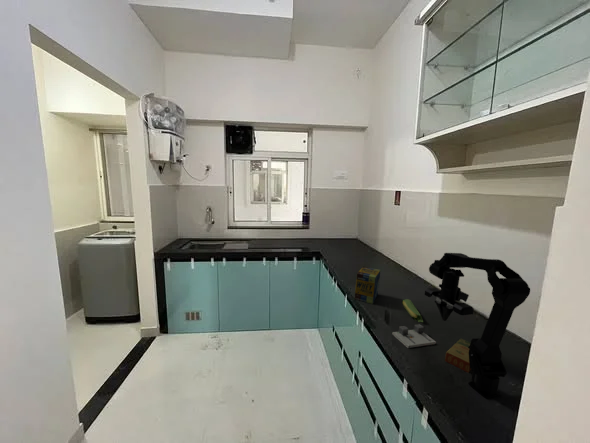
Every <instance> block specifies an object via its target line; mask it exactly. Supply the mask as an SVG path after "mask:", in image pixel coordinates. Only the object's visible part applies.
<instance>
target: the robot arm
mask: <svg viewBox="0 0 590 443" xmlns="http://www.w3.org/2000/svg"><path fill="white" fill-rule="evenodd" d="M464 268H467V269H468V268H469V269H472V270H473V269H475V270H481V271H485V272H486V275H487V276H486V277H487V282H488V283H489V285H490V286H491V288H492V290H491V294H492V298H493V300H494V303H493V305H492V307H491V311H490V313H489V316H488V319H487V322H486V324H485V326H484V329H483V331H482V334H481V337H480V338H472V339H471V340H470V342H471V343H470V346H469V347H468V348H469V352H468V353H469V364H470V368H471V378H470V381H468V382H467V385H469V386H470V387H471V388H472V389H473V390H474V391H476V392H477V393H479V395H481V396H482V397H483V398H485V399H489V398H493V397H497V396H498V397H499V396H501V392H499V390H498V389H499V385H500V380H501V379H500V378H501V377H502V378H505V377H506V375H507V374H508V371H507V369H506V368H505V367H506V366H505V365H504V363H503V360H502V356H503V354H502V353H503V352H502V349H501V347H500V344H501V342H502V340H503V337H504V335H505V333H506V331H507V328H508V325H509V323H510V321H511V318H512V316H513V313H514V311H515V309H517V307H519V306H521V305H522V304H523V303H524V302H525V301H526V300H527V299H528V297H529V296H530V293H531V288H530V286H529V284H528V283H527V281H525V280H524V279H523V277H522V276H521V275H520V274H519V273H518V272H517V271H515V270H513V269H512V268H510V267H509V266H508V265H507V264H506V263H505V262H504V261H503V260H501V259H498V258H497V259H495V258H493V259H491V258H482V257H481V258H480V257H472V256H468V255H467V254H464V253H461V252H444V253H443V255H442V257H441V258H440V259H434V261H433V263H431V264H430V266H429V267H428V272H429V273H430V274H431V275H433V276H435V277H436V278H438V279H440V280H441V283H439V284H438V287H439V288H440V289H438V288H436V287H431V288H430V287H429V288H426V289H425V290H424V296H426V297H428V298H431V297H433V296H434V297H435V298H436V299H435V300H434V303H435V304H436V307H437V308H438V311H439V313H440V317H441V320H442V321H444V322H446V321H448V319H449V317H450V316H451V314H452V313H453V312H454V313H456V314H458V315H460V316H469V315H474V307H473V306H471V305H469V304H468V303H466V302H467V301H468V299H469V296H470V294H468V293H466V292H464V291H462V289H461V287H459V284H460V278H462V277H463V278H464V277H465V274H464V273H463V271H462V270H461V269H464ZM497 273H498V274H500V275H501V276H502V277H499V276H498V275H497ZM503 277H504V278H503ZM460 301H463V302H460Z"/></svg>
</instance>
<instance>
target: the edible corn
mask: <svg viewBox="0 0 590 443" xmlns="http://www.w3.org/2000/svg"><path fill="white" fill-rule="evenodd" d="M401 304H402V306H403V308H404V309H405V310H406V312H407V313H408V314H409V316H410V317H411V318H412V319H414V321H417V322H418V323H424V319H423V316H422V315H421V314H420V312H419V311H418V309H417V307H416V305H415V303H413V302H412V300H411V299H406V298H405V299H403V300H402V301H401Z"/></svg>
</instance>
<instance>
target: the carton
mask: <svg viewBox="0 0 590 443" xmlns="http://www.w3.org/2000/svg"><path fill="white" fill-rule="evenodd" d="M470 343H471V341H468V340H466V339H463V338H460V339H458V340H457V341H456V343H454V344H453V345H452V346H451V347H450V348H449V349H448V350H446V352H445V358H444V362H446V363H448V364H450V365H452V366H454V367H456V368H458V369H460V370H462V371H463V372H465V373H470V372H471V371H472V369H471V368H470V364H469V353H468V352H469V348H468V347H469V346H470Z"/></svg>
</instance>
